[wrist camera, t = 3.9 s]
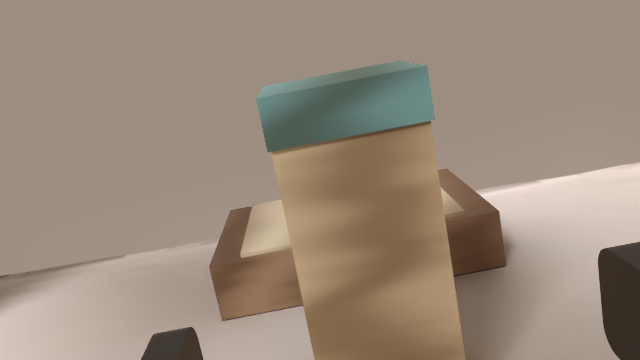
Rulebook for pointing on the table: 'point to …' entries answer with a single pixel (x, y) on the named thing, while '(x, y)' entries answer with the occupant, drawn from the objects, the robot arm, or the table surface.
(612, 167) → the table surface
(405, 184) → the teal topped tan block
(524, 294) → the table surface
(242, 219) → the dock
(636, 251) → the robot arm
